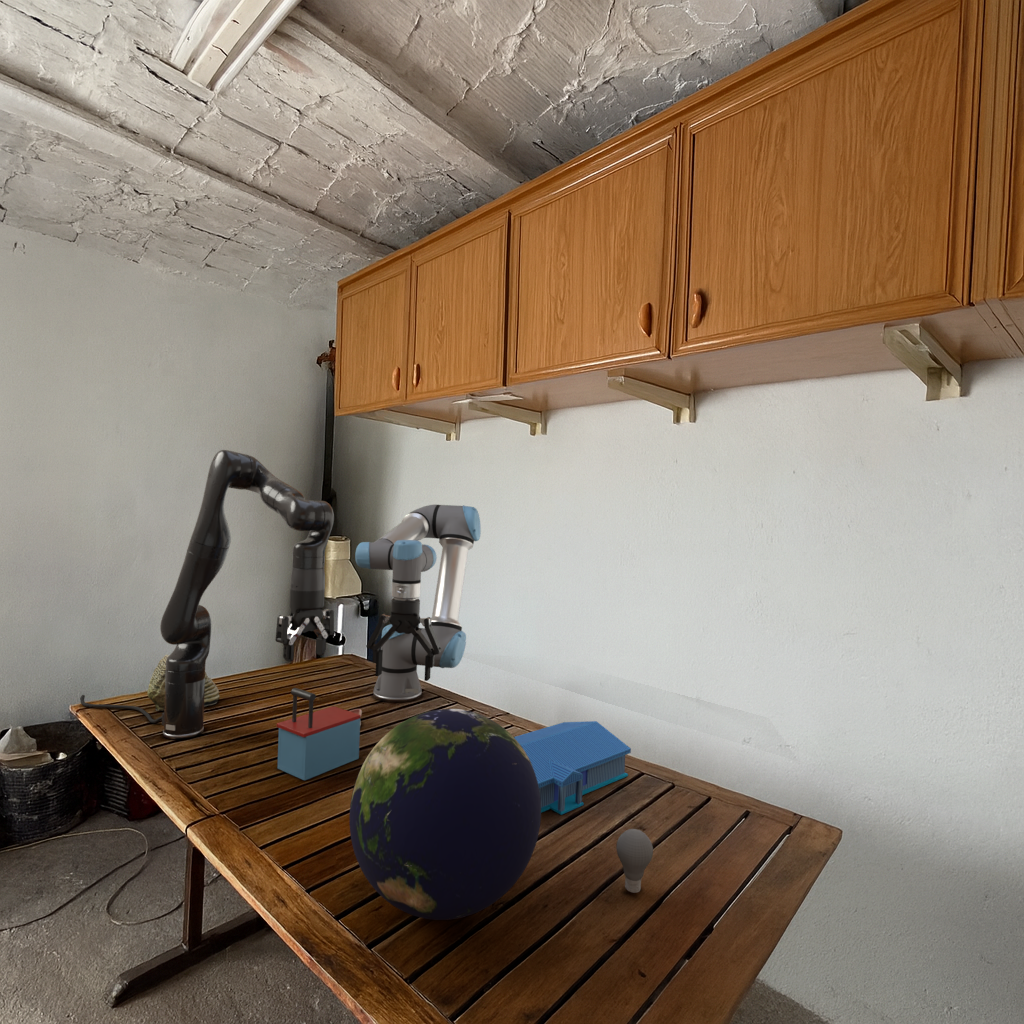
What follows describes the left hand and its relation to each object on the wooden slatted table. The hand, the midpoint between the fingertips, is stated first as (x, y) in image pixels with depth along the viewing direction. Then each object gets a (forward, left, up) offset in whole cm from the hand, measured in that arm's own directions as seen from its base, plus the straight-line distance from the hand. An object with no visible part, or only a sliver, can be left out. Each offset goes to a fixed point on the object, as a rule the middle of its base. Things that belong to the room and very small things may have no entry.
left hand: (304, 657), depth 145 cm
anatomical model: (-20, +19, -26) cm, 38 cm away
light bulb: (+77, +22, -26) cm, 84 cm away
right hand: (-4, +30, -10) cm, 32 cm away
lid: (-1, +5, -16) cm, 17 cm away
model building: (+40, +39, -26) cm, 62 cm away
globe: (+59, -4, -26) cm, 64 cm away
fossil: (-61, -8, -26) cm, 67 cm away
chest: (-1, +5, -26) cm, 27 cm away
